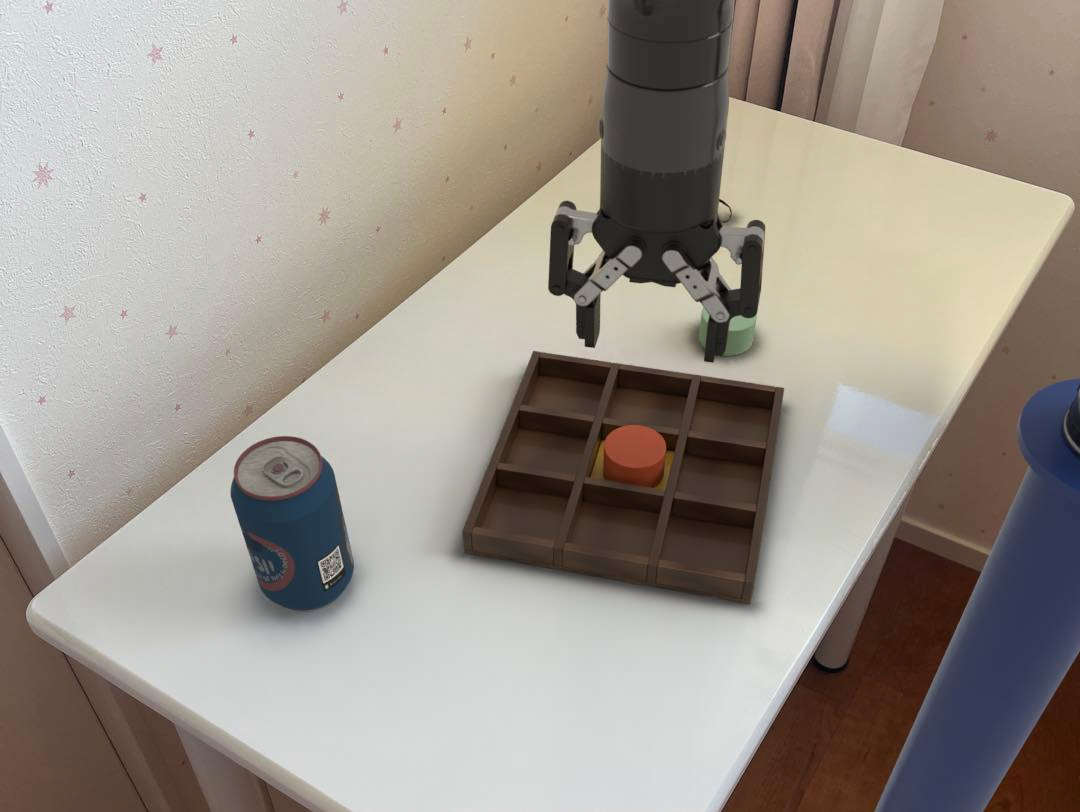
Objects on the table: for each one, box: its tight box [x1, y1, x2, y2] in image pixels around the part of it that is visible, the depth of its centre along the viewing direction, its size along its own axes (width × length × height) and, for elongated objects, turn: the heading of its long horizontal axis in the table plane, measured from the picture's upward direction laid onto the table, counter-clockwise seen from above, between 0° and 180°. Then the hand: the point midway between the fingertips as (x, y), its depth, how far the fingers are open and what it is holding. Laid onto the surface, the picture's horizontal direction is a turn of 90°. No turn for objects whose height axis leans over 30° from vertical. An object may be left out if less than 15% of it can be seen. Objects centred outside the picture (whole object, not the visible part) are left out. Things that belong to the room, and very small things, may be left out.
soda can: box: [229, 435, 355, 612], centre depth 77 cm, size 7×7×12 cm
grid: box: [461, 350, 785, 605], centre depth 87 cm, size 21×21×2 cm
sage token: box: [698, 306, 758, 357], centre depth 98 cm, size 5×5×3 cm
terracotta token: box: [603, 425, 666, 488], centre depth 86 cm, size 5×5×3 cm
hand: (650, 347), depth 79 cm, fingers open, 8 cm apart
